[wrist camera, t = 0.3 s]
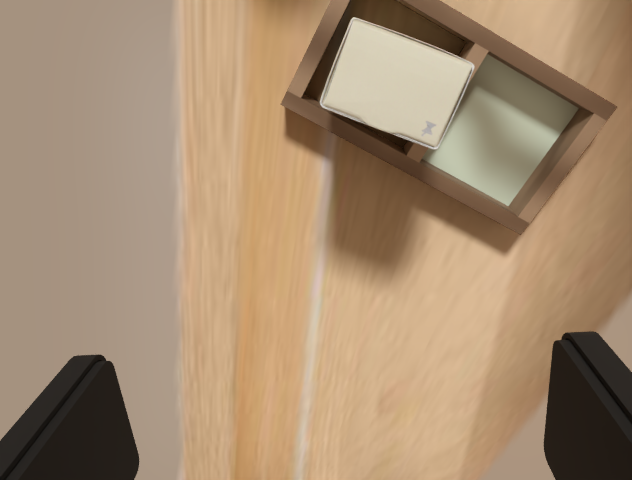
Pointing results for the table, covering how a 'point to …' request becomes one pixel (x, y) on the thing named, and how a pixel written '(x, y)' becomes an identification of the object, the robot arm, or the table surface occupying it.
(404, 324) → the table surface
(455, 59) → the skincare box
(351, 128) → the divided wooden tray
